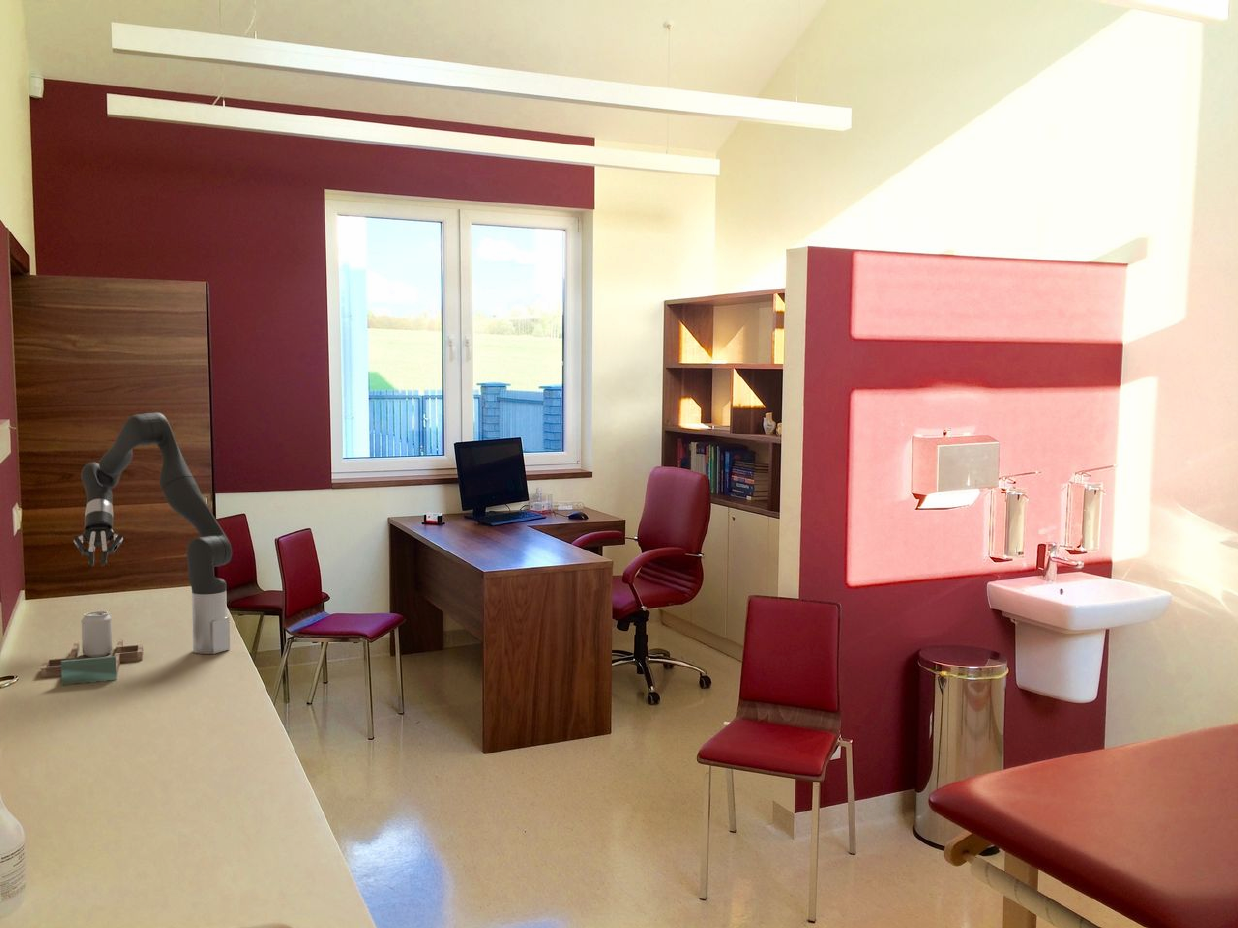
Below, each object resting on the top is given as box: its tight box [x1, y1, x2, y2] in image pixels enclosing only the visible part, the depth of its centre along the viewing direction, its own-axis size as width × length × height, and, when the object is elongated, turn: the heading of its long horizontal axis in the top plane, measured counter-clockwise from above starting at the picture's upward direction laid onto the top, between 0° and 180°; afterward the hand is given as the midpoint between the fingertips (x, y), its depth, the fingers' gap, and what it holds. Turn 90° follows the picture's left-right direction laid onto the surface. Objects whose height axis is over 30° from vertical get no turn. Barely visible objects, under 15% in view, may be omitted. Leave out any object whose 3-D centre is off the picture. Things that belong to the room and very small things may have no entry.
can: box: [81, 610, 113, 658], centre depth 281 cm, size 8×8×12 cm
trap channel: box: [40, 638, 144, 686], centre depth 271 cm, size 35×24×6 cm
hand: (97, 564), depth 290 cm, fingers closed
